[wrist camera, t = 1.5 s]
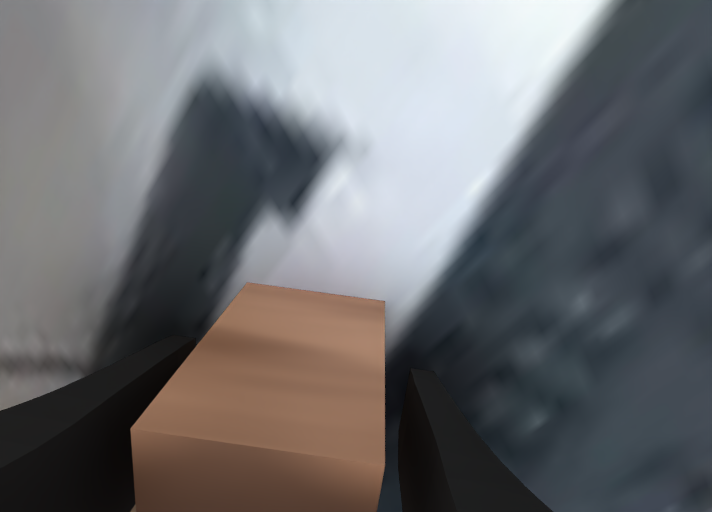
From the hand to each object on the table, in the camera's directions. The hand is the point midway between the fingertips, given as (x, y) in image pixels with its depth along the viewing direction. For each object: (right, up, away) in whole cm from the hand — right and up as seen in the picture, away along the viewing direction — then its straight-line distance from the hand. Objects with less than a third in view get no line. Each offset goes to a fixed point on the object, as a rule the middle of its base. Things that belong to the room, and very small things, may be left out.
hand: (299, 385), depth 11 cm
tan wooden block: (0, +1, +2) cm, 2 cm away
